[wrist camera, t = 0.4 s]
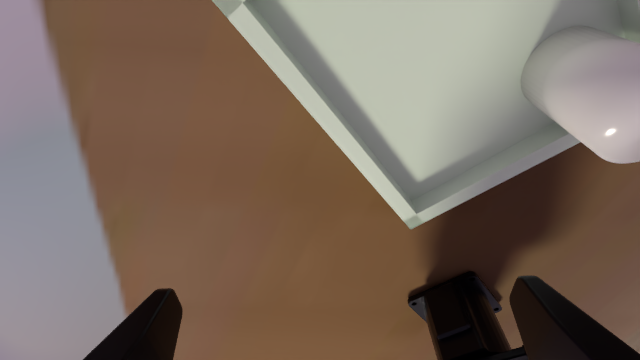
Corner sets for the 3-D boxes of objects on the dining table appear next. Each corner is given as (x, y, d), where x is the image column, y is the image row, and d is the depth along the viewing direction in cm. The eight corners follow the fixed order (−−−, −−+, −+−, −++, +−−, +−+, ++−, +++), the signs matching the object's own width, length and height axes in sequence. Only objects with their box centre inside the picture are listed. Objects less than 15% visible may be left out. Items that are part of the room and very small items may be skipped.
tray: (650, 77, 19) (680, 90, 18) (404, 210, 25) (410, 229, 24) (556, -351, 11) (598, -400, 10) (220, -8, 17) (210, -1, 15)
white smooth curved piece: (616, 75, 19) (721, 125, 14) (535, 121, 20) (604, 180, 15) (597, 6, 17) (712, 35, 12) (508, 62, 18) (578, 108, 13)
